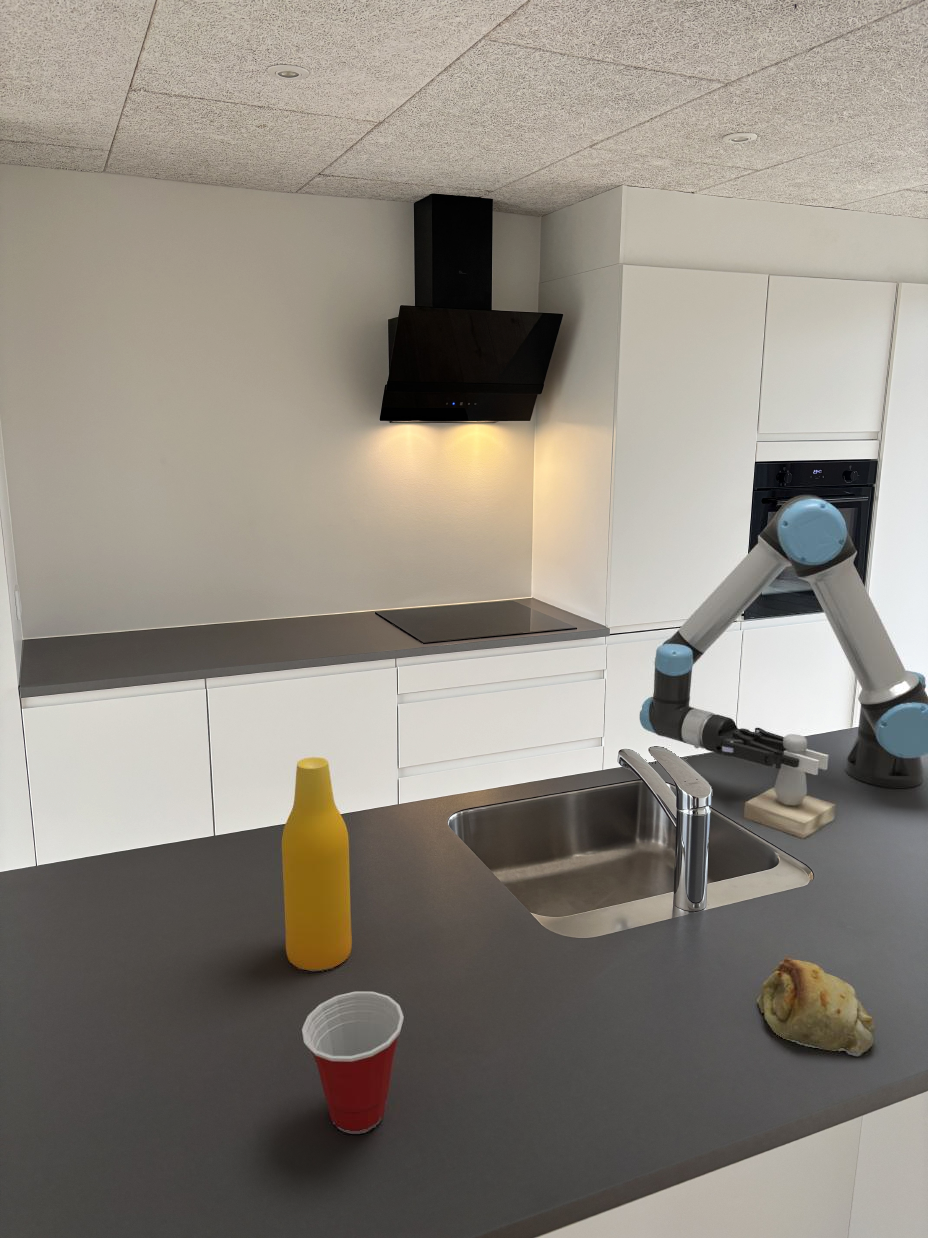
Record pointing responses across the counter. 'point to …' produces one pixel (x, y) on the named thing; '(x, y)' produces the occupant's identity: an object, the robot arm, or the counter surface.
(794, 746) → the salt shaker
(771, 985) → the pastry
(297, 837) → the beer bottle
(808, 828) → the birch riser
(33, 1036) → the counter surface
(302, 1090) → the counter surface
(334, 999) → the plastic cup
